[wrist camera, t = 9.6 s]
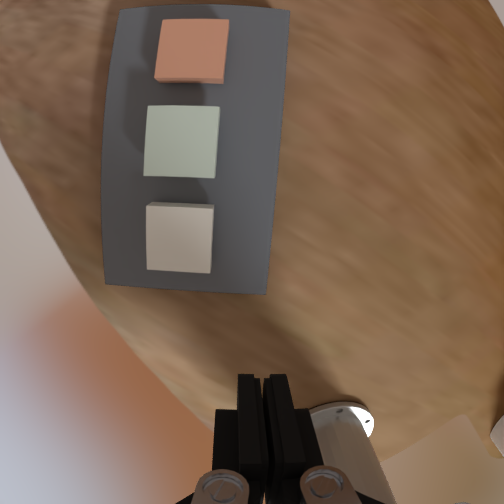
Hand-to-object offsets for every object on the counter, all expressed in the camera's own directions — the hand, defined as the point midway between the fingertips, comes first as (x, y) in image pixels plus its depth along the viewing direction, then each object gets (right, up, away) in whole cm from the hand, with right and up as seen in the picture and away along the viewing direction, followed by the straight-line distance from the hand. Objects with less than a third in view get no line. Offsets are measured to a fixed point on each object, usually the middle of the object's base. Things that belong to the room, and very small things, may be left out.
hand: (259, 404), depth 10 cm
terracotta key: (-4, +20, +10) cm, 23 cm away
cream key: (-6, +7, +14) cm, 16 cm away
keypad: (-5, +15, +15) cm, 22 cm away
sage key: (-5, +13, +11) cm, 18 cm away
